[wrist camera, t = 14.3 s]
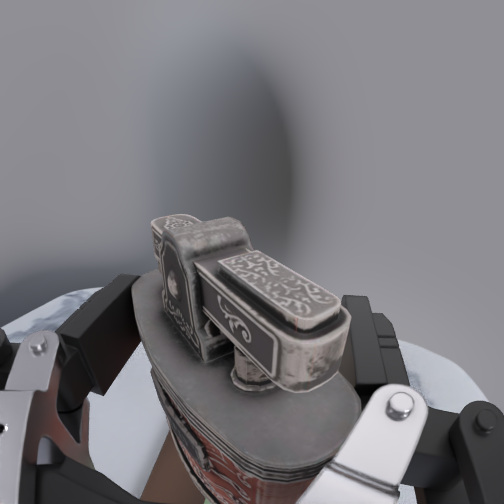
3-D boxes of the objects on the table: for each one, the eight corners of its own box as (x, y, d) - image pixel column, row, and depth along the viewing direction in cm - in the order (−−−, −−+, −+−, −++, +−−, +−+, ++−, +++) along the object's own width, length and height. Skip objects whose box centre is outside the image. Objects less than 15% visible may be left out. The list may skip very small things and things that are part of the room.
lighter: (154, 417, 12) (100, 205, 8) (216, 392, 14) (200, 186, 10) (252, 557, 6) (262, 419, 2) (326, 510, 8) (442, 289, 4)
